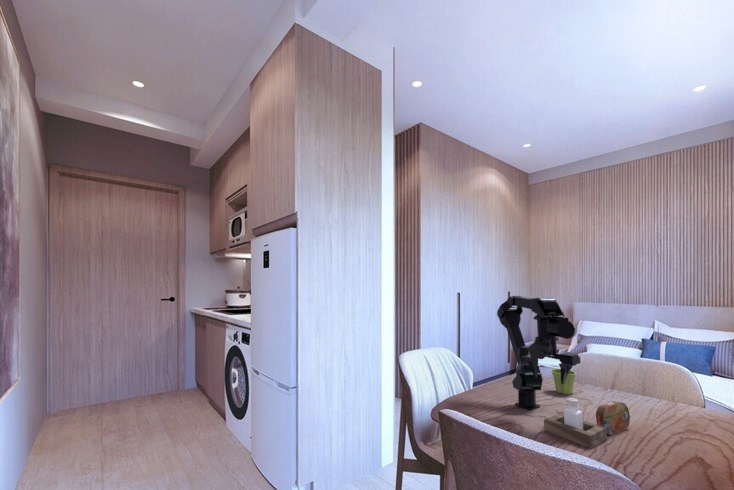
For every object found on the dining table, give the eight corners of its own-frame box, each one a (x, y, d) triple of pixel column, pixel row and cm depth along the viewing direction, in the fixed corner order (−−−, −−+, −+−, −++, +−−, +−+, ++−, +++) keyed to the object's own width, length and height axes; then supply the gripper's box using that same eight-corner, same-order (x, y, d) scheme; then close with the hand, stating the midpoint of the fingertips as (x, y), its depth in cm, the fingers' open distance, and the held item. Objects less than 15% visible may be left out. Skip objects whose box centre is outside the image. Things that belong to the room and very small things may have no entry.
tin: (605, 438, 101) (603, 408, 102) (594, 433, 104) (592, 405, 105) (631, 428, 108) (629, 401, 109) (620, 424, 111) (618, 398, 112)
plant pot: (556, 395, 140) (555, 373, 141) (548, 388, 149) (547, 368, 150) (581, 396, 138) (579, 375, 139) (571, 389, 147) (570, 369, 148)
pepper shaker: (563, 430, 103) (562, 398, 104) (570, 427, 105) (568, 396, 107) (577, 435, 100) (575, 402, 101) (584, 432, 102) (582, 400, 103)
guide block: (560, 423, 111) (560, 413, 111) (607, 439, 100) (606, 427, 100) (544, 430, 105) (543, 419, 106) (591, 448, 94) (590, 435, 95)
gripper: (508, 332, 120) (510, 377, 118) (562, 340, 105) (565, 392, 103) (526, 330, 126) (528, 373, 124) (579, 337, 111) (582, 386, 109)
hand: (548, 380), depth 115 cm, fingers open, 9 cm apart
